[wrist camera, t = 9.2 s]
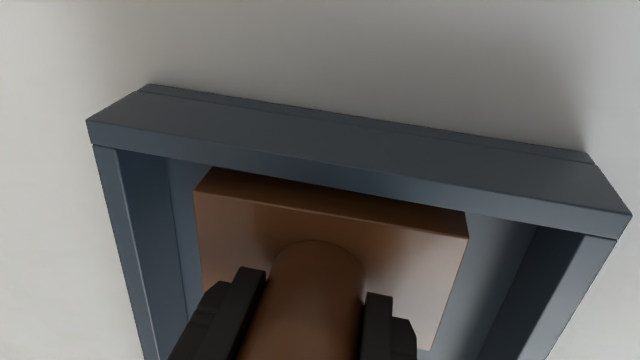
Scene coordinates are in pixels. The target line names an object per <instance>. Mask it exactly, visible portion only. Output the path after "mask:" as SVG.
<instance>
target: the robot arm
mask: <svg viewBox="0 0 640 360" xmlns="http://www.w3.org/2000/svg"><path fill="white" fill-rule="evenodd" d="M265 283H266V271H263V270H258V269H253V268H248V267H243V266H241V267H240V268H239V269H238V271H237V273H236V275H235V277H234V279H233V281H232V283H229V282H225V281H220V280H219V281H218V282H217V283H216V284H214V285H213V286H212V287H211V288H209V289H208V290H207V291H206V292H205V293H204V295H203V297H202V298H201V300H200V302H199V304H198V306H197V308H196V310H195V311H194V313H193V315H192V316H191V318H190V321H189V323H187V325H186V327H185V329H184V331H183V332H182V334H181V336H180V338H179V339H178V341H177V343H176V345H175V347H174V348H173V350H172V352H171V354H170V355H169V357H168V359H167V360H235V358H236V355H237V353H238V350H239V348H240V345H241V343H242V340H243V338H244V335H245V333H246V330H247V328H248V325H249V323H250V320H251V318H252V315H253V313H254V310H255V308H256V305H257V303H258V300H259V298H260V295H261V293H262V290H263V288H264V285H265ZM392 312H393V297H392V296H387V295H382V294H377V293H372V292H367V295H366V300H365V304H364V311H363V320H362V328H361V337H360V345H359V354H358V360H417V336H416V334H415V332H414V330H413V328H412V325H411V323H410V321H409V320H408V319H404V318H399V317H394V316H392Z"/></svg>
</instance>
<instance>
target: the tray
mask: <svg viewBox="0 0 640 360" xmlns="http://www.w3.org/2000/svg"><path fill="white" fill-rule="evenodd" d="M86 125H87V129H88V133H89V137H90V141H91V143H92V144H93V146H92V147H93V151H94V155H95V159H96V164H97V168H98V172H99V176H100V180H101V184H102V188H103V192H104V196H105V200H106V204H107V208H108V213H109V217H110V221H111V225H112V229H113V233H114V237H115V241H116V245H117V249H118V253H119V258H120V262H121V266H122V270H123V274H124V278H125V282H126V286H127V290H128V294H129V298H130V302H131V307H132V311H133V315H134V319H135V323H136V327H137V331H138V335H139V339H140V343H141V347H142V351H143V356H144V360H167V359H168V357H169V355H170V354H171V352H172V350H173V348H174V347H175V345H176V343H177V341H178V339H179V338H180V336H181V334H182V332H183V331H184V329H185V327H186V325H187V323H189V321H190V318H191V316H192V315H193V313H194V311H195V310H196V308H197V306H198V304H199V302H200V300H201V298H202V297H203V295H204V291H203V282H202V274H201V265H200V256H199V247H198V238H197V229H196V221H195V212H194V203H193V194H192V191H193V190H194V188H195V187H196V186H197V185H198V183H199V182H200V181H201V180H202V178H203V177H204V176H205V175H206V174H207V172H208V171H209V170H210V169H211V167H212V166H217V167H222V168H228V169H233V170H239V171H244V172H250V173H255V174H261V175H266V176H272V177H277V178H283V179H288V180H294V181H299V182H305V183H310V184H316V185H321V186H327V187H332V188H337V189H343V190H348V191H354V192H359V193H365V194H370V195H376V196H381V197H387V198H392V199H398V200H403V201H409V202H414V203H420V204H425V205H431V206H436V207H442V208H447V209H453V210H458V211H464V212H465V216H466V221H467V226H468V232H469V237H470V240H469V242H468V245H467V248H466V251H465V254H464V257H463V260H462V263H461V265H460V268H459V271H458V274H457V277H456V280H455V283H454V286H453V288H452V291H451V294H450V297H449V300H448V303H447V306H446V309H445V311H444V314H443V317H442V320H441V323H440V326H439V329H438V332H437V335H436V337H435V340H434V343H433V346H432V349H431V351H426V350H421V349H417V360H545V359H546V358H547V356H548V354H549V353H550V351H551V349H552V348H553V346H554V344H555V343H556V341H557V340H558V338H559V336H560V335H561V333H562V331H563V330H564V328H565V326H566V325H567V323H568V322H569V320H570V318H571V317H572V315H573V313H574V312H575V310H576V308H577V307H578V305H579V303H580V302H581V300H582V299H583V297H584V295H585V294H586V292H587V290H588V289H589V287H590V285H591V284H592V282H593V281H594V279H595V277H596V276H597V274H598V272H599V271H600V269H601V267H602V266H603V264H604V262H605V261H606V259H607V258H608V256H609V254H610V253H611V251H612V249H613V248H614V246H615V244H616V243H617V239H619V238H620V236H621V234H622V233H623V231H624V229H625V228H626V226H627V224H628V223H629V221H630V220H631V218H632V213H631V212H630V210H629V209H628V208H627V206H626V205H625V203H624V202H623V201H622V199H621V198H620V197H619V195H618V194H617V192H616V191H615V190H614V188H613V187H612V185H611V184H610V183H609V181H608V180H607V179H606V177H605V176H604V174H603V173H602V172H601V170H600V169H599V167H598V166H596V165H595V163H594V162H593V160H592V159H591V157H590V156H589V155H588V154H587V153H583V152H577V151H571V150H564V149H558V148H552V147H545V146H539V145H533V144H526V143H520V142H514V141H507V140H501V139H495V138H488V137H482V136H476V135H469V134H463V133H457V132H450V131H444V130H438V129H431V128H425V127H419V126H412V125H406V124H400V123H393V122H387V121H381V120H374V119H368V118H362V117H355V116H349V115H343V114H336V113H330V112H324V111H317V110H311V109H305V108H298V107H292V106H286V105H279V104H273V103H267V102H260V101H254V100H248V99H242V98H235V97H229V96H223V95H216V94H210V93H204V92H197V91H191V90H185V89H178V88H172V87H166V86H159V85H153V84H147V85H145V86H144V87H142V88H140V89H139V90H137V91H134V92H132V93H131V94H129V95H127V96H125V97H124V98H122V99H120V100H119V101H117V102H115V103H113V104H112V105H110V106H108V107H107V108H105V109H103V110H101V111H100V112H98V113H96V114H94V115H93V116H91V117H89V118H88V119H86Z"/></svg>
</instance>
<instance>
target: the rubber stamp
mask: <svg viewBox="0 0 640 360" xmlns="http://www.w3.org/2000/svg"><path fill="white" fill-rule="evenodd" d="M192 194H193V203H194V212H195V221H196V229H197V238H198V247H199V256H200V265H201V274H202V282H203V291H204V293H205V292H206V291H207V290H208V289H209V288H211V287H212V286H213V285H214V284H216V283H217V282H218V281H219V280H220V281H225V282H229V283H232V281H233V279H234V277H235V275H236V273H237V271H238V269H239V268H240V267H241V266H243V267H248V268H253V269H258V270H263V271H266V283H265V285H264V288H263V290H262V293H261V295H260V298H259V300H258V303H257V305H256V308H255V310H254V313H253V315H252V318H251V320H250V323H249V325H248V328H247V330H246V333H245V335H244V338H243V340H242V343H241V345H240V348H239V350H238V353H237V355H236V358H235V360H358V354H359V345H360V337H361V328H362V320H363V311H364V304H365V300H366V295H367V292H372V293H377V294H382V295H387V296H392V297H393V312H392V316H394V317H399V318H404V319H408V320H409V321H410V323H411V325H412V328H413V330H414V332H415V334H416V336H417V349H421V350H426V351H431V349H432V346H433V343H434V340H435V337H436V335H437V332H438V329H439V326H440V323H441V320H442V317H443V314H444V311H445V309H446V306H447V303H448V300H449V297H450V294H451V291H452V288H453V286H454V283H455V280H456V277H457V274H458V271H459V268H460V265H461V263H462V260H463V257H464V254H465V251H466V248H467V245H468V242H469V240H470V237H469V232H468V226H467V221H466V216H465V212H464V211H458V210H453V209H447V208H442V207H436V206H431V205H425V204H420V203H414V202H409V201H403V200H398V199H392V198H387V197H381V196H376V195H370V194H365V193H359V192H354V191H348V190H343V189H337V188H332V187H327V186H321V185H316V184H310V183H305V182H299V181H294V180H288V179H283V178H277V177H272V176H266V175H261V174H255V173H250V172H244V171H239V170H233V169H228V168H222V167H217V166H212V167H211V169H210V170H209V171H208V172H207V174H206V175H205V176H204V177H203V178H202V180H201V181H200V182H199V183H198V185H197V186H196V187H195V188H194V190H193V191H192Z"/></svg>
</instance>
